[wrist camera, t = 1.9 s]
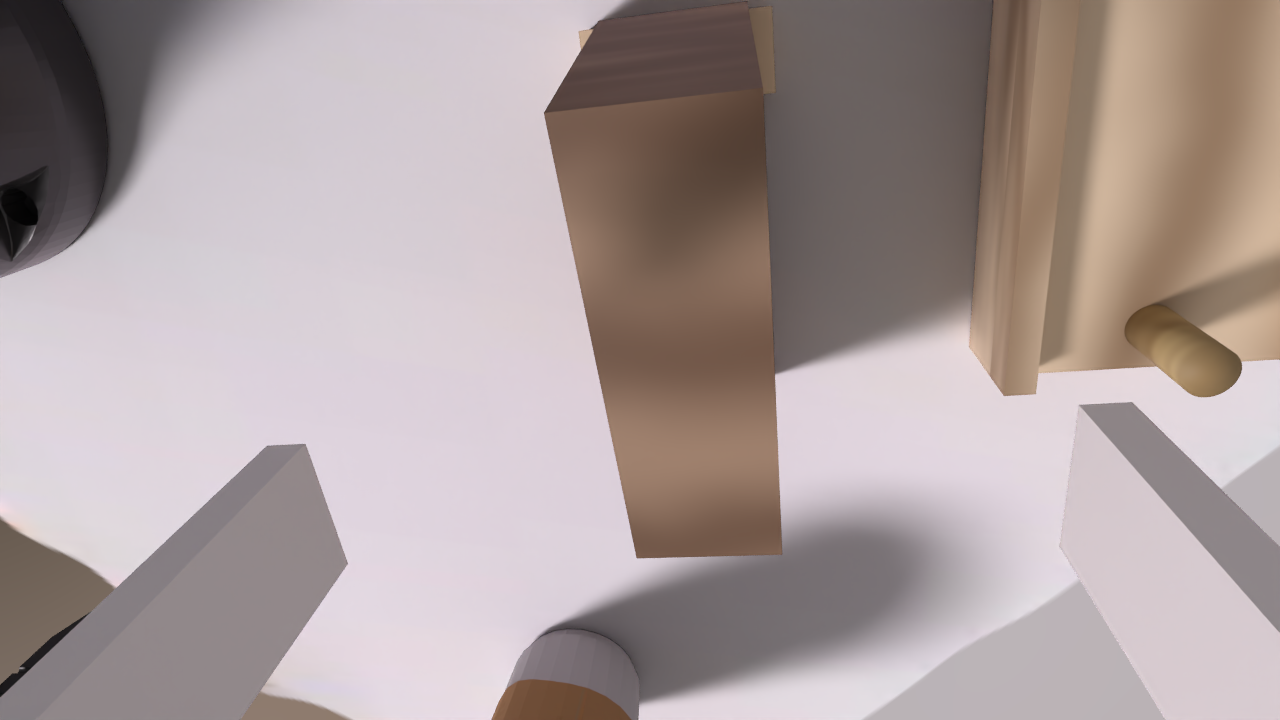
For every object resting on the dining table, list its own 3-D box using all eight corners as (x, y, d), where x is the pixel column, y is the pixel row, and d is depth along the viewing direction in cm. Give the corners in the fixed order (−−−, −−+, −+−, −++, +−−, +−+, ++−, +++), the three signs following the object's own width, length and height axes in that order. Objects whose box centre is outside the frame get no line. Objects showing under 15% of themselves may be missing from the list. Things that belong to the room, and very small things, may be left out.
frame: (767, 377, 30) (783, 554, 23) (655, 384, 31) (636, 558, 23) (748, 0, 22) (765, 87, 15) (598, 20, 23) (543, 112, 16)
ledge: (969, 346, 29) (1025, 426, 23) (1015, -321, 20) (1120, -438, 15) (1257, 328, 27) (1388, 408, 22) (1434, -398, 19) (1717, -559, 14)
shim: (599, 106, 26) (590, 113, 24) (588, 29, 25) (578, 31, 23) (772, 86, 25) (775, 92, 24) (768, 6, 24) (771, 5, 23)
